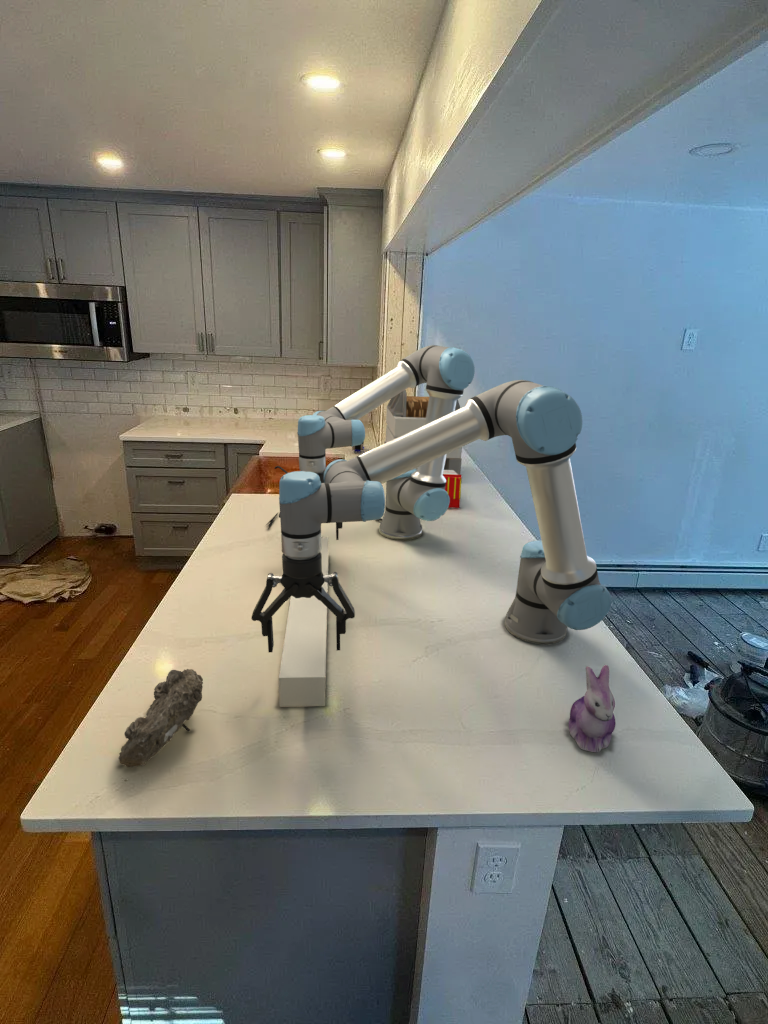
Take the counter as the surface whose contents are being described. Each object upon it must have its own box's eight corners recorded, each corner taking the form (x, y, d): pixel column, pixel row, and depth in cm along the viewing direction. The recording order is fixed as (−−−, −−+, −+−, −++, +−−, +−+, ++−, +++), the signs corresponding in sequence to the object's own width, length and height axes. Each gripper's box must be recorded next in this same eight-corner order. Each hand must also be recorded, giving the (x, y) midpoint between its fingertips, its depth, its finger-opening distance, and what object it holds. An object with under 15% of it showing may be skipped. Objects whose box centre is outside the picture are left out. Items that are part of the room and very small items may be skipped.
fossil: (153, 670, 114) (204, 637, 109) (187, 701, 117) (238, 670, 112) (92, 760, 94) (152, 726, 89) (135, 795, 97) (195, 763, 92)
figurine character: (364, 456, 305) (364, 447, 319) (364, 443, 302) (364, 434, 315) (351, 456, 305) (352, 446, 318) (351, 443, 302) (352, 434, 315)
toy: (454, 466, 253) (465, 475, 223) (452, 495, 255) (463, 509, 226) (427, 465, 252) (435, 474, 223) (425, 494, 255) (433, 508, 226)
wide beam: (299, 556, 178) (299, 536, 176) (328, 556, 179) (328, 536, 177) (279, 706, 112) (278, 677, 109) (325, 706, 112) (325, 677, 110)
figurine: (594, 762, 101) (608, 692, 96) (553, 726, 109) (565, 660, 104) (630, 746, 105) (646, 678, 100) (588, 712, 114) (601, 648, 109)
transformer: (382, 463, 289) (386, 382, 275) (445, 464, 293) (451, 384, 279) (390, 482, 257) (394, 392, 243) (460, 483, 261) (468, 394, 247)
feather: (285, 507, 224) (287, 503, 224) (267, 531, 198) (270, 526, 197) (281, 504, 224) (284, 500, 223) (263, 528, 197) (265, 524, 197)
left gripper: (266, 474, 158) (271, 544, 165) (356, 473, 160) (356, 542, 167) (269, 467, 165) (273, 534, 172) (355, 466, 167) (355, 533, 174)
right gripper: (231, 561, 104) (239, 660, 111) (368, 559, 106) (366, 656, 113) (238, 545, 111) (245, 639, 118) (365, 543, 113) (365, 635, 120)
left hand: (314, 538), depth 170 cm, fingers open, 13 cm apart
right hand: (304, 647), depth 116 cm, fingers open, 13 cm apart
